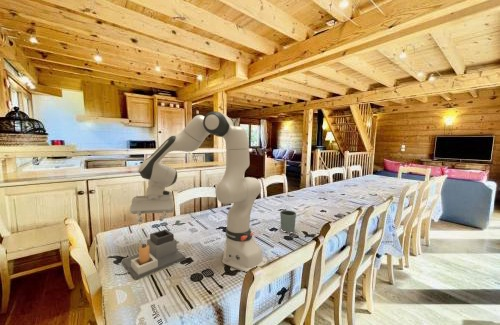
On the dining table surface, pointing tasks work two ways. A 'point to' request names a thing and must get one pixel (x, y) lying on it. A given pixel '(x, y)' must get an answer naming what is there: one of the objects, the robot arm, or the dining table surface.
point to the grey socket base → (155, 255)
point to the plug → (143, 254)
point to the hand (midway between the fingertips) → (150, 220)
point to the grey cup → (288, 220)
